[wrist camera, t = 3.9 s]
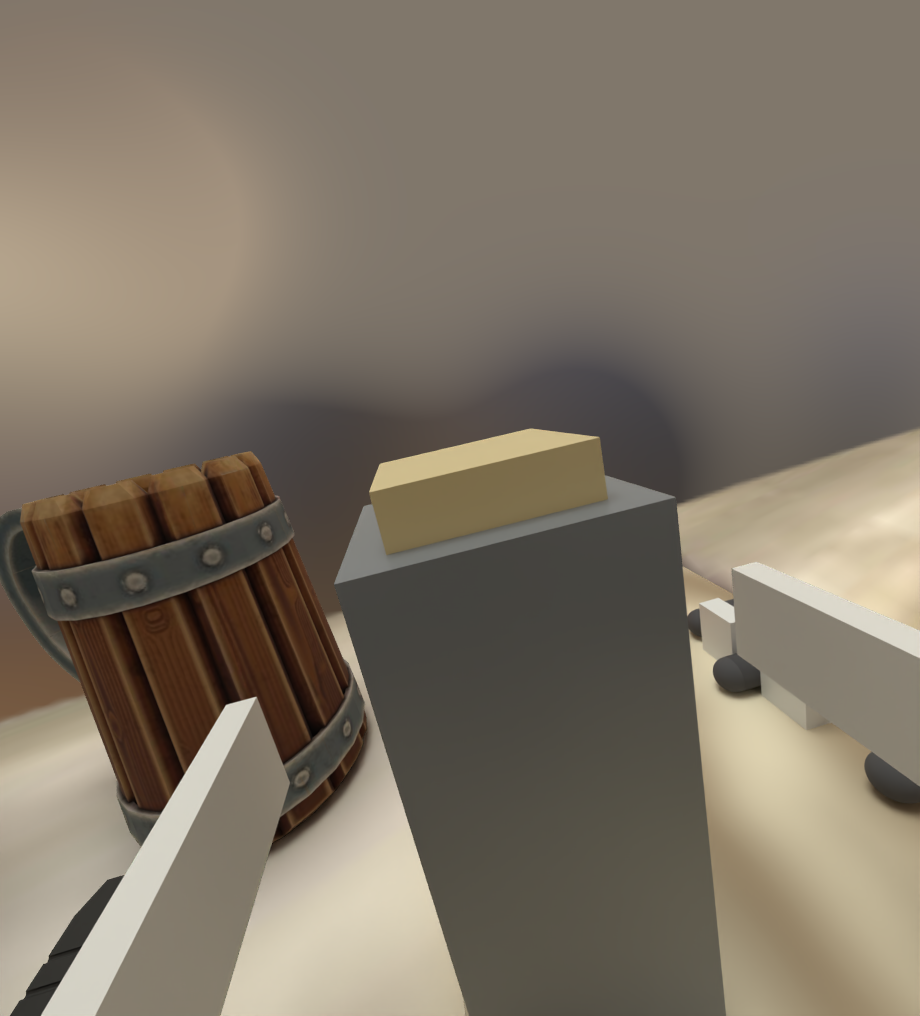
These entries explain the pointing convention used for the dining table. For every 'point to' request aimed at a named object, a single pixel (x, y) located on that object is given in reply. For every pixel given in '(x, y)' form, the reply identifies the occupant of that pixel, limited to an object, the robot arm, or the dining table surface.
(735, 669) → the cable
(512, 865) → the grey tall block
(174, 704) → the mug
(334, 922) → the dining table surface
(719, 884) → the board
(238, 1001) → the dining table surface
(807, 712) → the cable clips
